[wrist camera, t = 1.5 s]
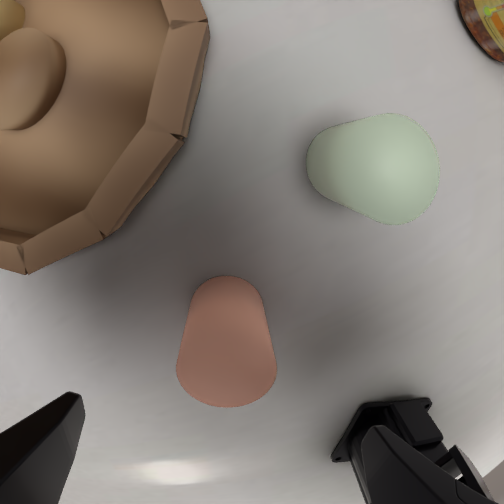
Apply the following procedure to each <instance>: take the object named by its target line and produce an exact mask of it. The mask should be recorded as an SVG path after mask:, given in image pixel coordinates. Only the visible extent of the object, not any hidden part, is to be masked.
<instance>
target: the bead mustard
mask: <svg viewBox="0 0 504 504" xmlns="http://www.w3.org/2000/svg"><path fill="white" fill-rule="evenodd" d="M24 20H25V9H24V7H23V6H22V5H21V4H19V3H17V2H16V1H14V0H0V41H1V40H2V39H3V38H4V37H6V36H7V35H9V34H10V33H12V32H14V31H16V30H18V29H21V28H22V26H23V24H24Z"/></svg>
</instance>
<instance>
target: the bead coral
mask: <svg viewBox="0 0 504 504" xmlns="http://www.w3.org/2000/svg"><path fill="white" fill-rule="evenodd" d="M176 372H177V377H178V380H179V382H180V384H181V386H182V387H183V388H184V390H185V391H186V392H187V393H188V394H190V395H191V396H192V397H194V398H195V399H197V400H199V401H201V402H203V403H205V404H208V405H212V406H217V407H238V406H243V405H246V404H250V403H252V402H254V401H256V400H258V399H259V398H261V397H262V396H264V395H265V394H266V393H267V392H268V391H269V389H270V388H271V387H272V385H273V384H274V381H275V379H276V375H277V365H276V360H275V355H274V351H273V347H272V342H271V338H270V333H269V329H268V324H267V320H266V316H265V311H264V307H263V302H262V299H261V296H260V294H259V293H258V291H257V290H256V289H255V287H254V286H252V285H251V284H250V283H249V282H247V281H245V280H243V279H241V278H238V277H234V276H219V277H215V278H212V279H210V280H208V281H206V282H204V283H203V284H202V285H200V286H199V288H198V289H197V290H196V291H195V293H194V295H193V297H192V300H191V304H190V308H189V312H188V316H187V320H186V324H185V329H184V333H183V337H182V341H181V346H180V350H179V355H178V359H177V364H176Z"/></svg>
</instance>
